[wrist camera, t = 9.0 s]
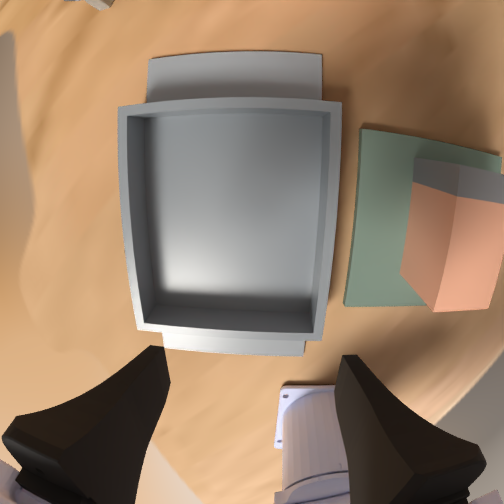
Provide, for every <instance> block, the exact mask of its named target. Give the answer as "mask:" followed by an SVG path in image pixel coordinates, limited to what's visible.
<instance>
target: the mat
mask: <svg viewBox="0 0 504 504" xmlns="http://www.w3.org/2000/svg"><path fill="white" fill-rule="evenodd" d="M414 158H421V159H428V160H435V161H442V162H448V163H454V164H460V165H464V166H469V167H474V168H478V169H482V170H487V171H491V172H495V173H499V174H501V163H502V157H499V156H496V155H493V154H489V153H485V152H482V151H478V150H474V149H470V148H466V147H462V146H458V145H453V144H449V143H445V142H440V141H435V140H430V139H425V138H420V137H414V136H409V135H403V134H397V133H390V132H383V131H376V130H369V129H359V153H358V172H357V187H356V200H355V211H354V222H353V231H352V241H351V249H350V257H349V265H348V272H347V280H346V286H345V293H344V299H343V304H344V306H345V307H377V306H423V305H427V304H426V303H425V302H424V301H423V300H422V299H421V297H420V296H419V295H418V294H417V293H416V292H415V290H414V289H413V288H412V287H411V286H410V285H409V284H408V282H407V281H406V280H405V279H404V278H403V277H402V276H401V275H400V268H401V262H402V257H403V251H404V245H405V239H406V232H407V225H408V218H409V210H410V201H411V191H412V181H413V168H414Z"/></svg>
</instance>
